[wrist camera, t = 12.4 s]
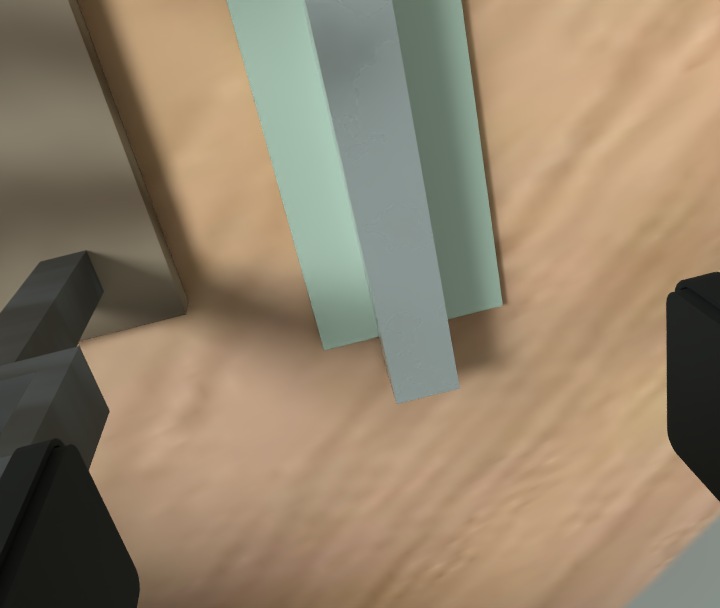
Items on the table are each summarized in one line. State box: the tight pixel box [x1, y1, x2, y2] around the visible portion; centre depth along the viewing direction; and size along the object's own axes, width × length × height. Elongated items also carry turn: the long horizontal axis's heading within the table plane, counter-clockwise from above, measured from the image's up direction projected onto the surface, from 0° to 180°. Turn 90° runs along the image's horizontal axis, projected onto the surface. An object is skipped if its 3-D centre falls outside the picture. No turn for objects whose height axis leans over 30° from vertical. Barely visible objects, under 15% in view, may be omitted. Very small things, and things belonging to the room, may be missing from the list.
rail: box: [302, 0, 460, 404], centre depth 28 cm, size 24×3×3 cm, turn 12°
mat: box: [227, 0, 503, 350], centre depth 29 cm, size 20×9×1 cm, turn 12°
